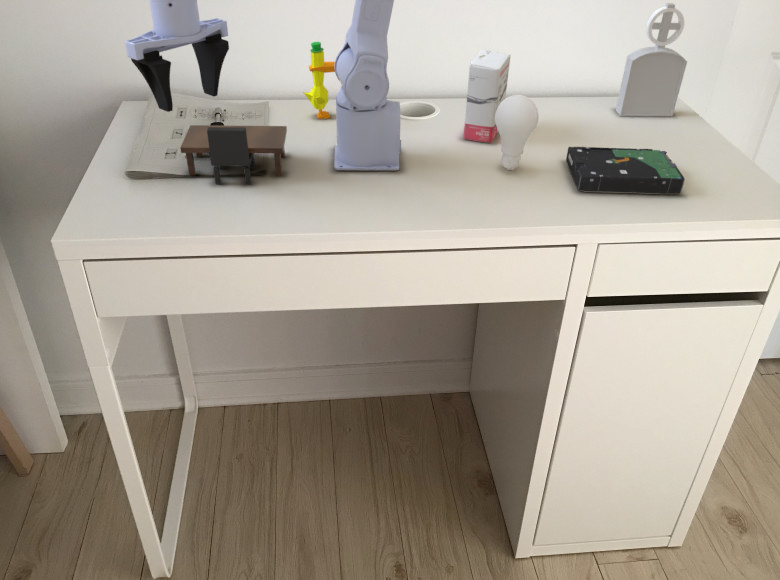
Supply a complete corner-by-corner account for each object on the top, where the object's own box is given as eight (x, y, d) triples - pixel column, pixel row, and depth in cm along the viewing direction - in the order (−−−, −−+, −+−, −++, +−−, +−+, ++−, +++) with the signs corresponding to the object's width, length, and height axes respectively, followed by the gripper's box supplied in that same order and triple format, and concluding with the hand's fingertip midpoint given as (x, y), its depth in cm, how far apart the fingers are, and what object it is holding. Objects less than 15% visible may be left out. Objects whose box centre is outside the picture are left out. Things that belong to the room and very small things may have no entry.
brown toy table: (288, 154, 109) (286, 125, 106) (284, 177, 103) (282, 148, 100) (194, 153, 108) (190, 125, 105) (185, 177, 102) (180, 147, 99)
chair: (255, 166, 105) (250, 113, 100) (250, 186, 100) (245, 130, 95) (220, 166, 105) (213, 112, 100) (214, 185, 100) (206, 130, 95)
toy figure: (342, 111, 123) (340, 38, 116) (346, 119, 120) (345, 44, 113) (302, 114, 122) (298, 40, 114) (306, 122, 119) (302, 47, 112)
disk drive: (577, 194, 102) (681, 196, 102) (581, 176, 100) (687, 177, 100) (564, 163, 110) (660, 164, 110) (567, 145, 108) (665, 147, 108)
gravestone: (615, 110, 128) (639, 1, 117) (666, 110, 128) (695, 2, 117) (620, 116, 126) (644, 5, 114) (672, 116, 126) (702, 6, 115)
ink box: (491, 144, 114) (500, 68, 107) (461, 139, 115) (468, 64, 108) (503, 125, 121) (512, 52, 113) (474, 120, 122) (481, 48, 114)
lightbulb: (506, 157, 111) (515, 85, 104) (538, 170, 107) (550, 97, 100) (480, 168, 107) (488, 95, 100) (512, 182, 104) (523, 107, 97)
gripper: (197, -22, 96) (211, 81, 104) (101, -3, 86) (125, 108, 95) (233, -13, 92) (244, 93, 101) (137, 8, 83) (158, 122, 91)
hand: (188, 101), depth 98 cm, fingers open, 7 cm apart
